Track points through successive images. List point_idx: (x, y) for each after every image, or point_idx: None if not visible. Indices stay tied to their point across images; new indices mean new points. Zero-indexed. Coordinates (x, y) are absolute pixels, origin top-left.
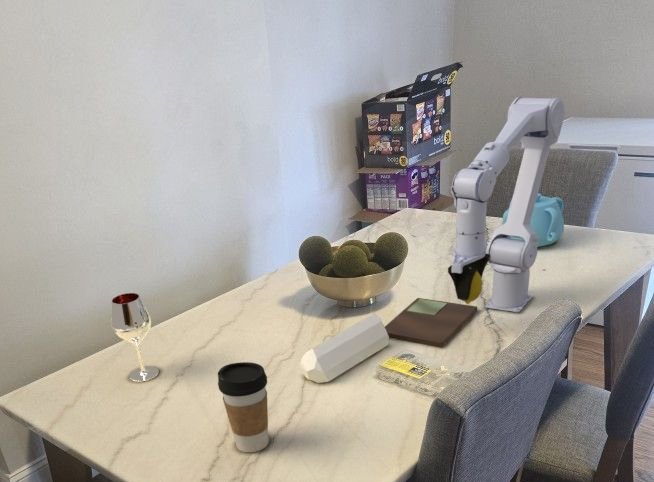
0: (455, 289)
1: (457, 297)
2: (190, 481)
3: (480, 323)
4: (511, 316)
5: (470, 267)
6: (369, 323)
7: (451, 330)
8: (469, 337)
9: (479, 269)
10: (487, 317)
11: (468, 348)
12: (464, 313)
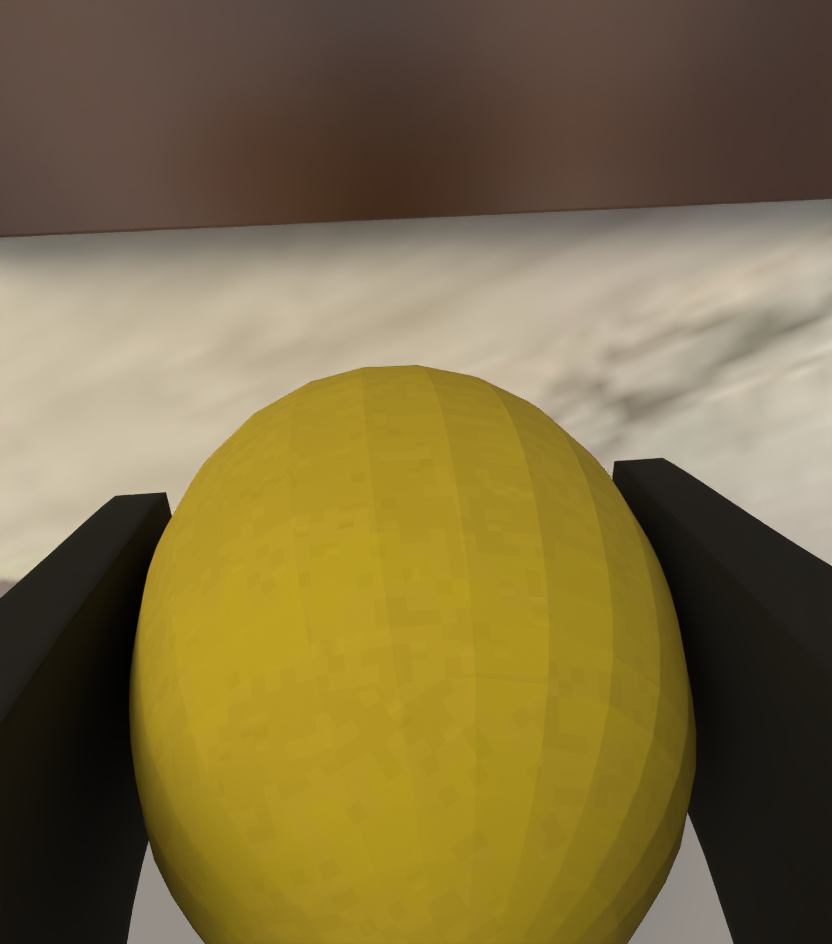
0: (233, 447)
1: (103, 506)
2: None
3: (606, 326)
4: (798, 486)
5: (817, 819)
6: None
7: (237, 200)
8: (292, 358)
9: (753, 932)
10: (748, 330)
11: (97, 434)
12: (709, 138)
